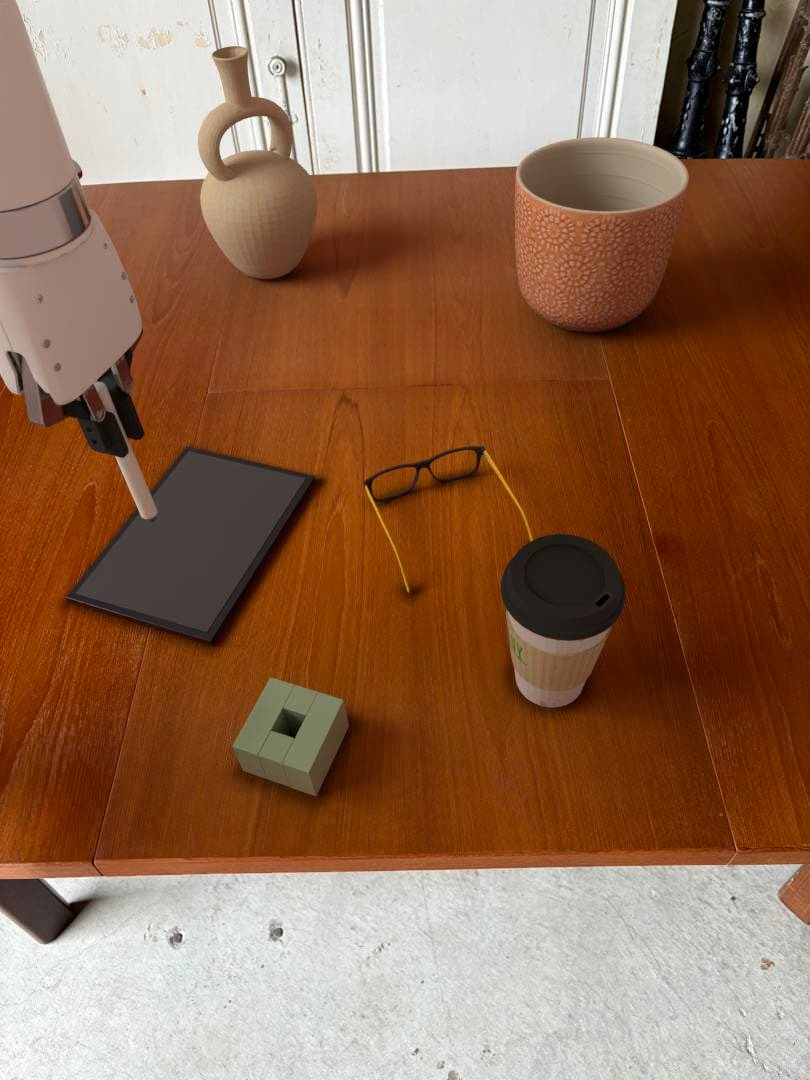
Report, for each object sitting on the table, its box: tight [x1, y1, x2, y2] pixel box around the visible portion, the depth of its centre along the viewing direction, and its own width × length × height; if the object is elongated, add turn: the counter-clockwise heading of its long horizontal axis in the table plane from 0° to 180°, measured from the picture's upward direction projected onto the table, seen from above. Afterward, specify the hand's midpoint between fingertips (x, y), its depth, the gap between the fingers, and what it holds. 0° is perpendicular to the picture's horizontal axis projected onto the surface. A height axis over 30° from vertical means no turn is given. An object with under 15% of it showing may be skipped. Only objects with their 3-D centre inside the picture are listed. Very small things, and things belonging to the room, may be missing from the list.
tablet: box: [65, 446, 317, 647], centre depth 88 cm, size 17×24×1 cm
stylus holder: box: [231, 677, 350, 797], centre depth 69 cm, size 7×7×4 cm
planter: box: [514, 136, 690, 333], centre depth 107 cm, size 21×21×19 cm
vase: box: [197, 45, 318, 280], centre depth 114 cm, size 17×17×30 cm
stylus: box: [93, 382, 157, 523], centre depth 64 cm, size 1×1×14 cm
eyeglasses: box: [362, 445, 534, 593], centre depth 86 cm, size 14×14×4 cm
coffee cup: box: [500, 533, 627, 709], centre depth 69 cm, size 10×10×15 cm
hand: (118, 442), depth 63 cm, fingers closed on stylus, 1 cm apart
